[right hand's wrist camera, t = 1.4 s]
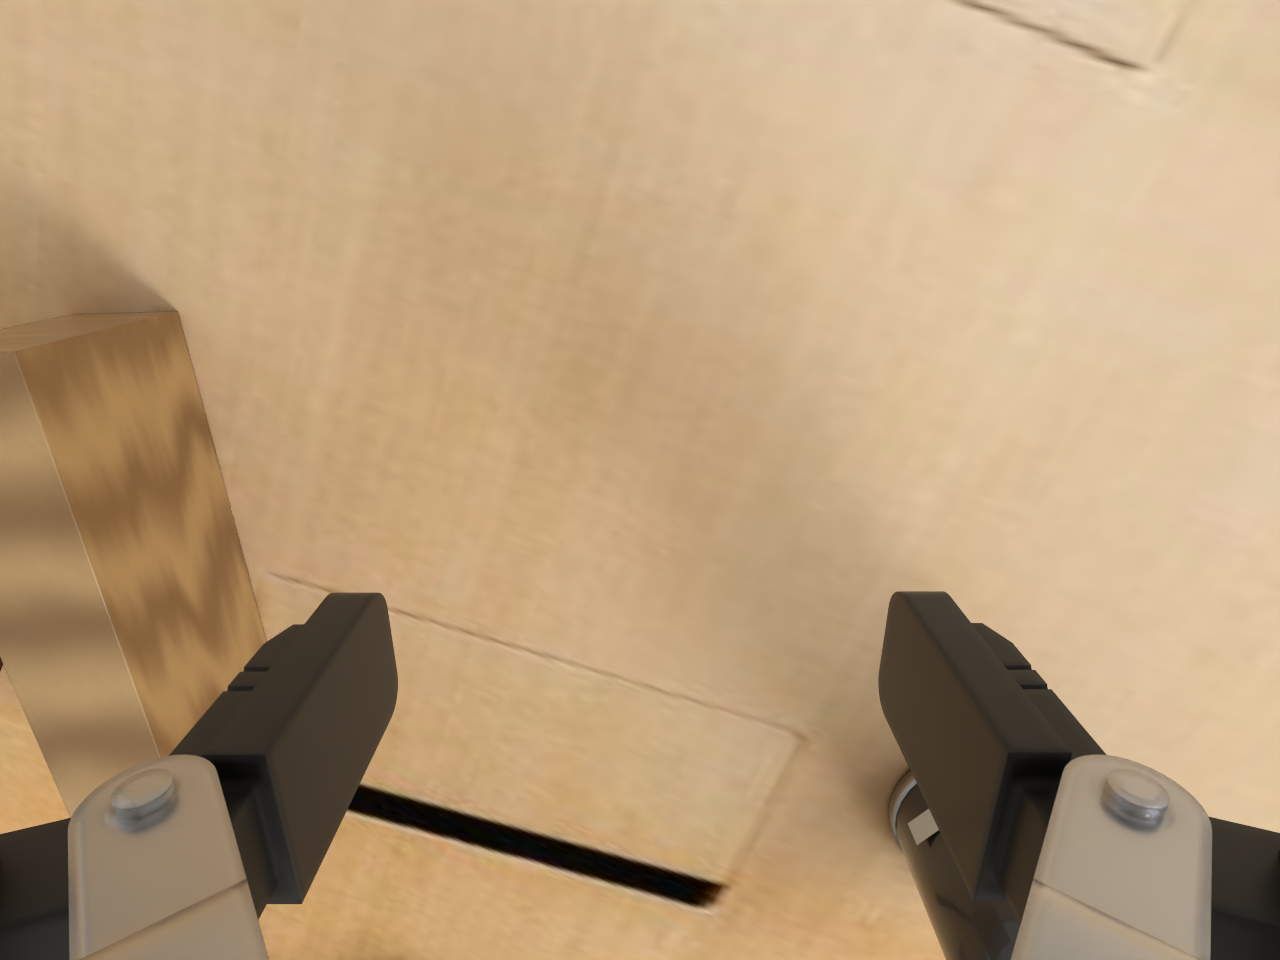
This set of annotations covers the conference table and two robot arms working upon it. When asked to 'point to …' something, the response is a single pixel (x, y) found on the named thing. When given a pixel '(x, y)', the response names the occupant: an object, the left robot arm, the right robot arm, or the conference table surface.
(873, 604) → the conference table surface
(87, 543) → the bar
